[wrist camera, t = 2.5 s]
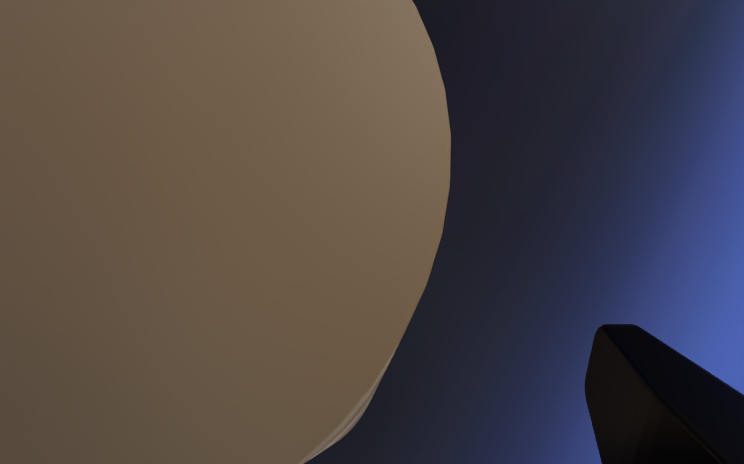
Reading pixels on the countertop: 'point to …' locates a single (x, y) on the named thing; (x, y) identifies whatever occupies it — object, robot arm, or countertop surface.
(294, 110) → the dowel
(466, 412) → the countertop surface
